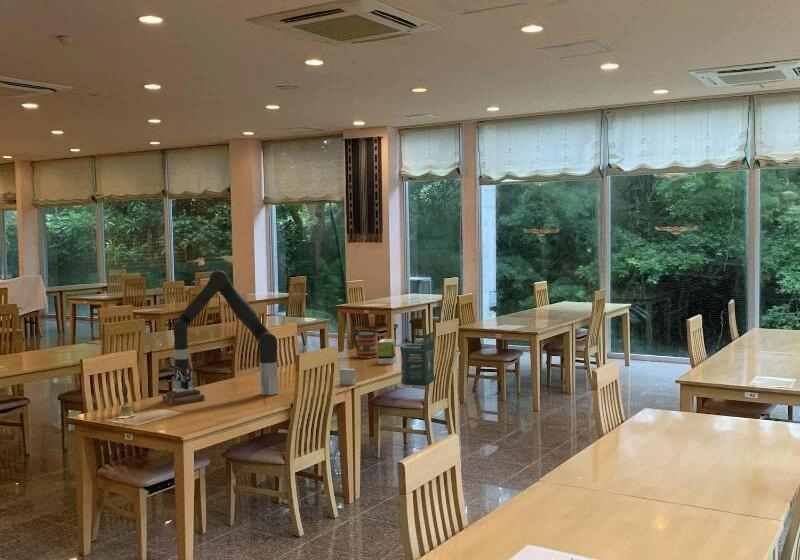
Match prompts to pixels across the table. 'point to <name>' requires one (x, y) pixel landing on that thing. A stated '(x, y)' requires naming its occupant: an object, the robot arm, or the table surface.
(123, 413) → the hand bell
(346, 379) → the medicine box
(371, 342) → the beer stein
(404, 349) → the donation box
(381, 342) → the tea box
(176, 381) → the housing
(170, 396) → the walnut stand
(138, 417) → the table surface
